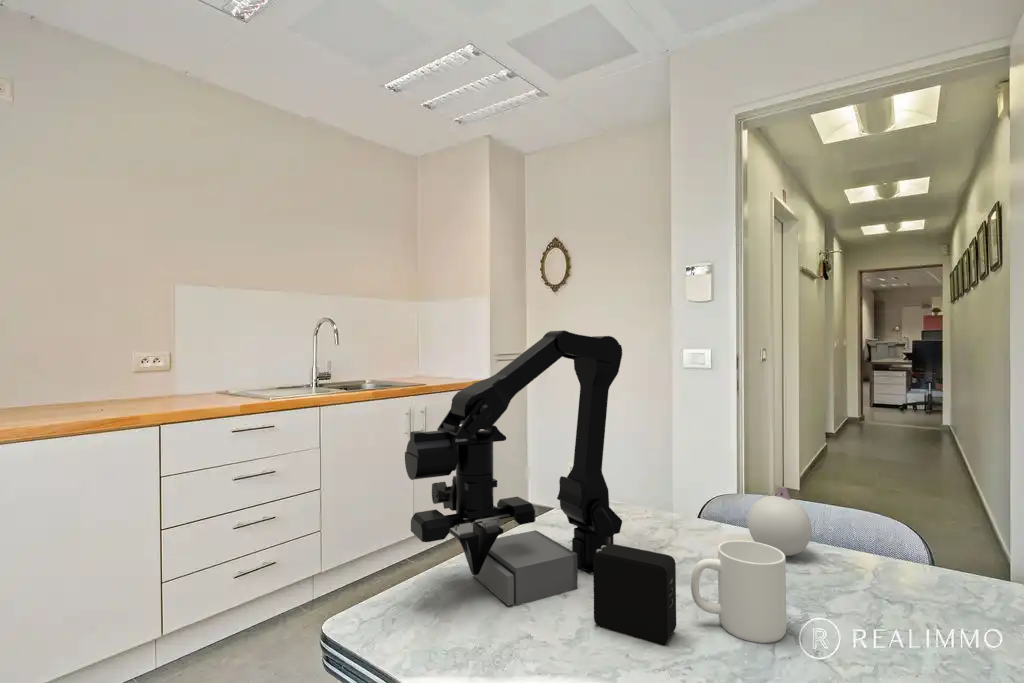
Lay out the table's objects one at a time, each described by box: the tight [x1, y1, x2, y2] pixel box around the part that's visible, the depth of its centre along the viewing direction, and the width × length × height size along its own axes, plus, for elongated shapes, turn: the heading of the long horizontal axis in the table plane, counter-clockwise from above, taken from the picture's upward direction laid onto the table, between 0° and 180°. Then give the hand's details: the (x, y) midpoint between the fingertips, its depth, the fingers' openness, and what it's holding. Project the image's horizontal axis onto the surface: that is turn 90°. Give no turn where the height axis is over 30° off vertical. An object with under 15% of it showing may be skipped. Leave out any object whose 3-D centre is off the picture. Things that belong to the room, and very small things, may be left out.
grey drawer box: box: [488, 530, 579, 606], centre depth 86 cm, size 11×12×5 cm
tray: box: [471, 555, 515, 607], centre depth 85 cm, size 11×12×4 cm
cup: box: [690, 539, 787, 644], centre depth 72 cm, size 8×12×10 cm
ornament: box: [747, 486, 812, 557], centre depth 97 cm, size 10×10×12 cm
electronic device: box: [592, 543, 677, 646], centre depth 71 cm, size 4×10×10 cm, turn 58°
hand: (474, 573), depth 82 cm, fingers closed
